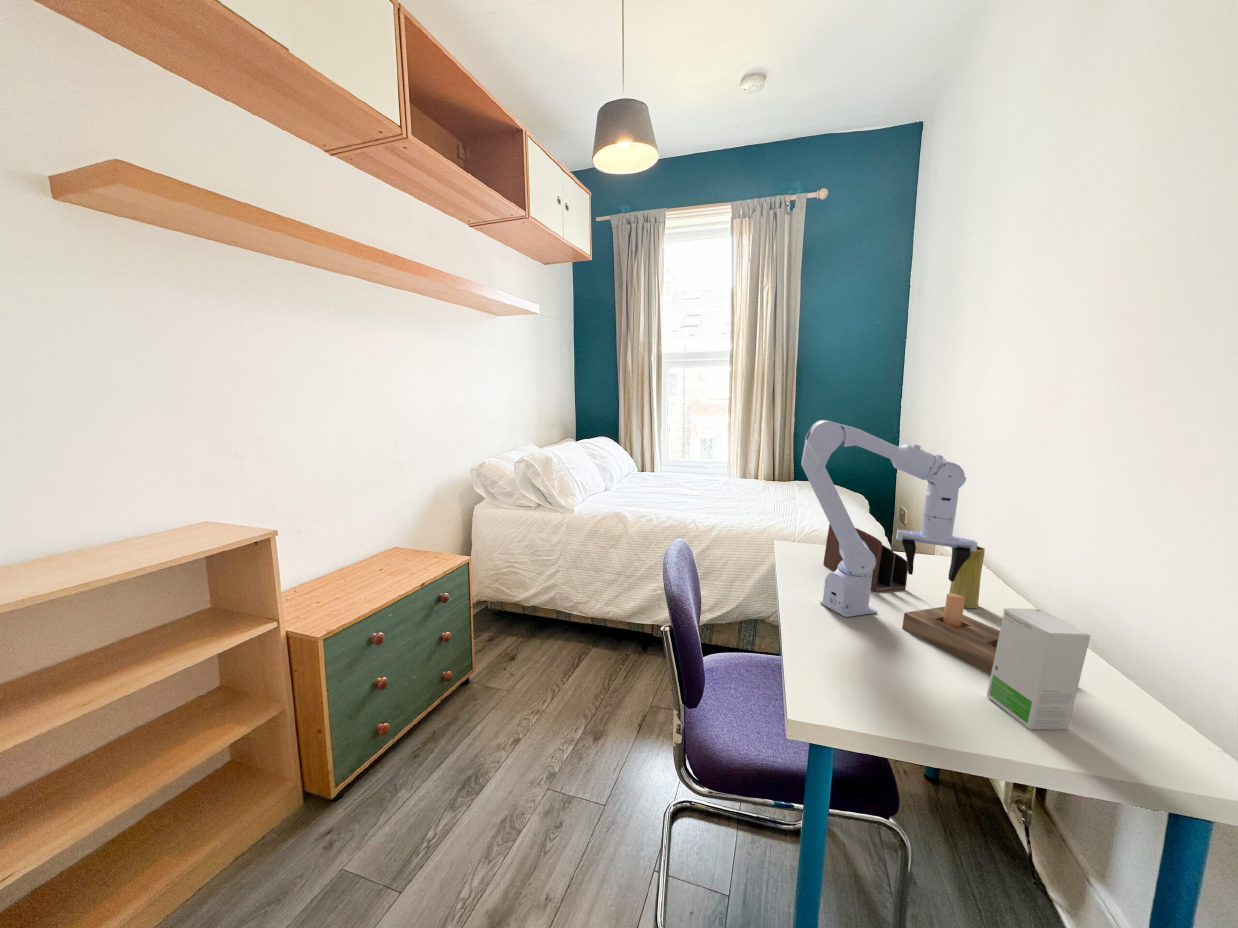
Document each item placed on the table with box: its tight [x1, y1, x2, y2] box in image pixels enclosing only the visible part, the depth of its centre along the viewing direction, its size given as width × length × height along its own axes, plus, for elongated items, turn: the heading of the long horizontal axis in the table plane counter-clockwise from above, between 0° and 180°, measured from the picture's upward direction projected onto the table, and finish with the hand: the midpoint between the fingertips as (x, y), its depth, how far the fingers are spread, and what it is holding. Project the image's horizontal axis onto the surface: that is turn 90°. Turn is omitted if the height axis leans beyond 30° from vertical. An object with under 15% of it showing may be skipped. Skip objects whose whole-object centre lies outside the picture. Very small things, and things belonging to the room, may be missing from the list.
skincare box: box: [986, 607, 1092, 731], centre depth 74 cm, size 8×7×16 cm
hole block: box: [901, 606, 1000, 675], centre depth 94 cm, size 12×22×4 cm, turn 20°
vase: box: [948, 545, 986, 609], centre depth 116 cm, size 6×6×14 cm
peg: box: [943, 592, 965, 629], centre depth 98 cm, size 3×3×9 cm
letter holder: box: [823, 523, 908, 593], centre depth 131 cm, size 10×20×14 cm, turn 14°
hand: (930, 576), depth 106 cm, fingers open, 7 cm apart
